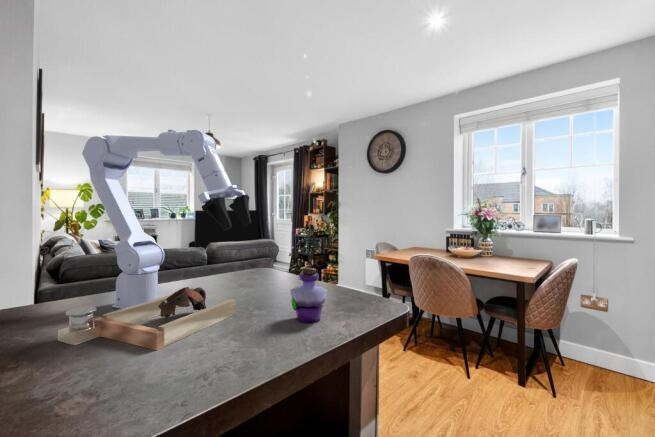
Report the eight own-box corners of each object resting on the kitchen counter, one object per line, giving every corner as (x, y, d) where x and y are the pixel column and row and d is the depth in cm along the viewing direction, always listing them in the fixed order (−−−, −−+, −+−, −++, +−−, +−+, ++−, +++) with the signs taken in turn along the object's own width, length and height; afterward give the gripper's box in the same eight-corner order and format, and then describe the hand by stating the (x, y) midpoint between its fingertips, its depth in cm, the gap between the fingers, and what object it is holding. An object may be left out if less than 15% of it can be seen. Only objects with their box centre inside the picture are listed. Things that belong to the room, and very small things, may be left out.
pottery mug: (201, 329, 66) (179, 298, 64) (166, 344, 68) (144, 314, 66) (223, 299, 77) (205, 272, 76) (193, 313, 79) (175, 287, 77)
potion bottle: (282, 319, 71) (282, 267, 71) (309, 311, 78) (309, 263, 78) (307, 329, 66) (308, 273, 65) (334, 319, 72) (335, 268, 72)
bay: (94, 334, 61) (94, 316, 61) (182, 305, 81) (182, 291, 81) (156, 350, 54) (157, 330, 54) (235, 314, 74) (235, 299, 74)
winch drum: (57, 340, 58) (58, 311, 57) (87, 331, 62) (87, 304, 62) (74, 345, 56) (74, 315, 56) (103, 335, 60) (103, 307, 60)
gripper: (204, 167, 67) (230, 223, 66) (244, 169, 80) (266, 216, 80) (183, 182, 70) (208, 236, 69) (225, 182, 83) (247, 227, 82)
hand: (238, 226), depth 74 cm, fingers open, 7 cm apart
